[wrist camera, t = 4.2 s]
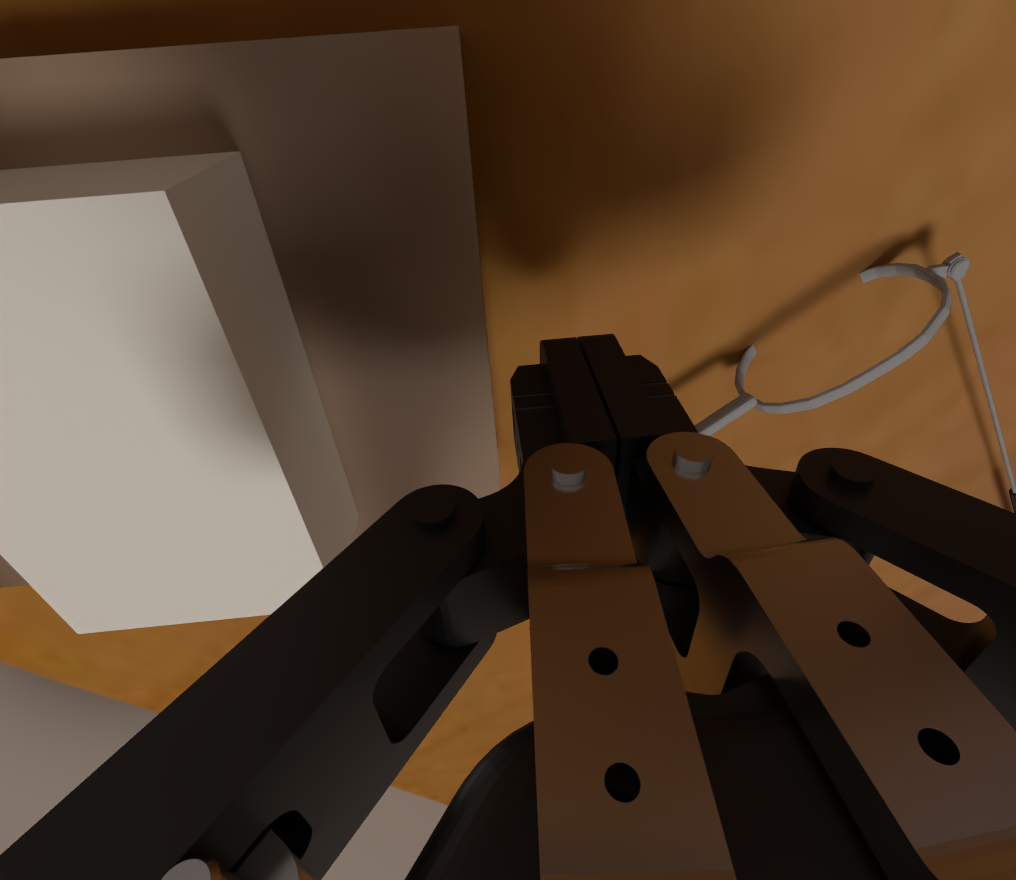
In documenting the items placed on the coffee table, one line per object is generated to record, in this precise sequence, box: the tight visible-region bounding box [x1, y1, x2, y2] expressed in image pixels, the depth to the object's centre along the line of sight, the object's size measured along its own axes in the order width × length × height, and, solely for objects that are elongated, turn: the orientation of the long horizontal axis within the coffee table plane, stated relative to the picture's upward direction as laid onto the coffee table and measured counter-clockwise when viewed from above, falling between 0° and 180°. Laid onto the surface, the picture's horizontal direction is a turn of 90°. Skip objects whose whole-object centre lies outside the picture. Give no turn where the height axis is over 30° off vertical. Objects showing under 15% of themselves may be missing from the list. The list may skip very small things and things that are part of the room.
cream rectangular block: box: [0, 151, 359, 634], centre depth 11 cm, size 6×9×3 cm, turn 3°
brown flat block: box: [0, 25, 501, 588], centre depth 13 cm, size 18×12×4 cm, turn 94°
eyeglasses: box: [695, 252, 1016, 514], centre depth 22 cm, size 18×19×4 cm
